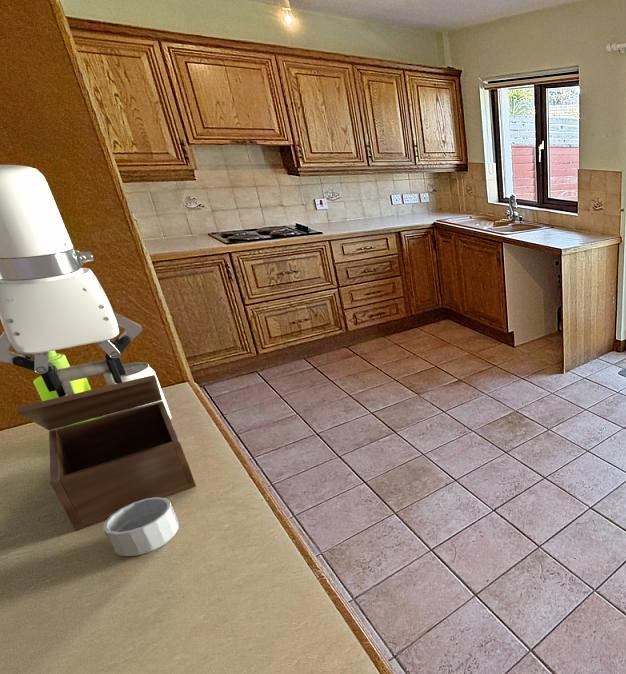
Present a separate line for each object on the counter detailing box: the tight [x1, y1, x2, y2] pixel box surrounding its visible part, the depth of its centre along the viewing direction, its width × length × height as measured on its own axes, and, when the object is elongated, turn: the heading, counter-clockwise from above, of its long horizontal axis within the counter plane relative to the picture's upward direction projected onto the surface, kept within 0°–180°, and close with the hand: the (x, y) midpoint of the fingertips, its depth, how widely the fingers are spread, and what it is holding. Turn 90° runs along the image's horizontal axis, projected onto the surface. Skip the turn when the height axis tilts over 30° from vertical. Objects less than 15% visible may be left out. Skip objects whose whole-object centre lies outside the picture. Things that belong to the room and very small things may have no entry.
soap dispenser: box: [32, 350, 103, 429], centre depth 82 cm, size 6×7×20 cm
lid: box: [15, 358, 162, 431], centre depth 72 cm, size 18×14×5 cm
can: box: [110, 361, 172, 420], centre depth 89 cm, size 6×6×12 cm
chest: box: [48, 401, 197, 532], centre depth 75 cm, size 17×14×9 cm
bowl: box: [102, 497, 180, 557], centre depth 66 cm, size 7×7×4 cm
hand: (91, 385), depth 69 cm, fingers closed on lid, 5 cm apart
